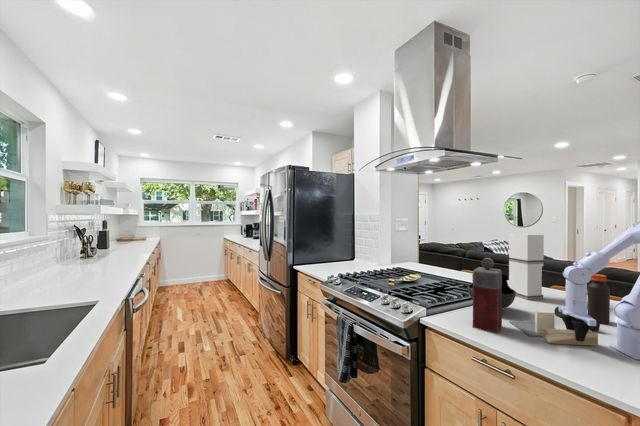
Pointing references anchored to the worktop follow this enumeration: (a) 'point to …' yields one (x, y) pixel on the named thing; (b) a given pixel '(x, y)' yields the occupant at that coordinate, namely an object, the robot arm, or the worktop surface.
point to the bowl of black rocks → (507, 292)
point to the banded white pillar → (526, 265)
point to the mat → (527, 328)
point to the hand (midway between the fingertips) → (576, 338)
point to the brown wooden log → (593, 328)
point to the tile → (543, 321)
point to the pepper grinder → (487, 297)
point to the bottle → (599, 299)
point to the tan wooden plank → (568, 337)
